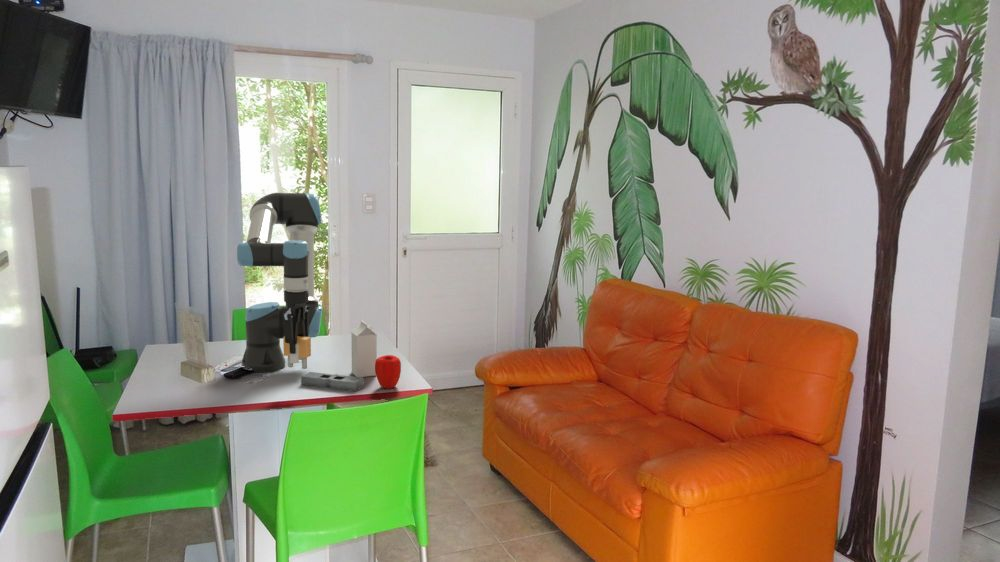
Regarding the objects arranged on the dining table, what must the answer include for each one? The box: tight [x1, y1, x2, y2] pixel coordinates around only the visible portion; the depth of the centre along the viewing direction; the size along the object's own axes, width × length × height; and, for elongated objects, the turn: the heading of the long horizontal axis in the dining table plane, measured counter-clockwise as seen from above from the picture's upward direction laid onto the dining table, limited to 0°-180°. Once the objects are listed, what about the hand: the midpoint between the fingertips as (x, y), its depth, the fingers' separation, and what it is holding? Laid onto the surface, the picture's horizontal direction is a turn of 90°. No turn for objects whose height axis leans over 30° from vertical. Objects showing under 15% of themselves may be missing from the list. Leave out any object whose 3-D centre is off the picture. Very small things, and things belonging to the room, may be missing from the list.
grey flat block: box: [300, 371, 365, 392], centre depth 240 cm, size 20×6×3 cm, turn 75°
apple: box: [375, 354, 402, 389], centre depth 239 cm, size 9×9×11 cm
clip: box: [282, 336, 312, 370], centre depth 228 cm, size 8×3×10 cm, turn 75°
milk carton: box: [351, 320, 378, 378], centre depth 253 cm, size 7×7×19 cm
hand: (297, 361), depth 229 cm, fingers closed on clip, 3 cm apart
